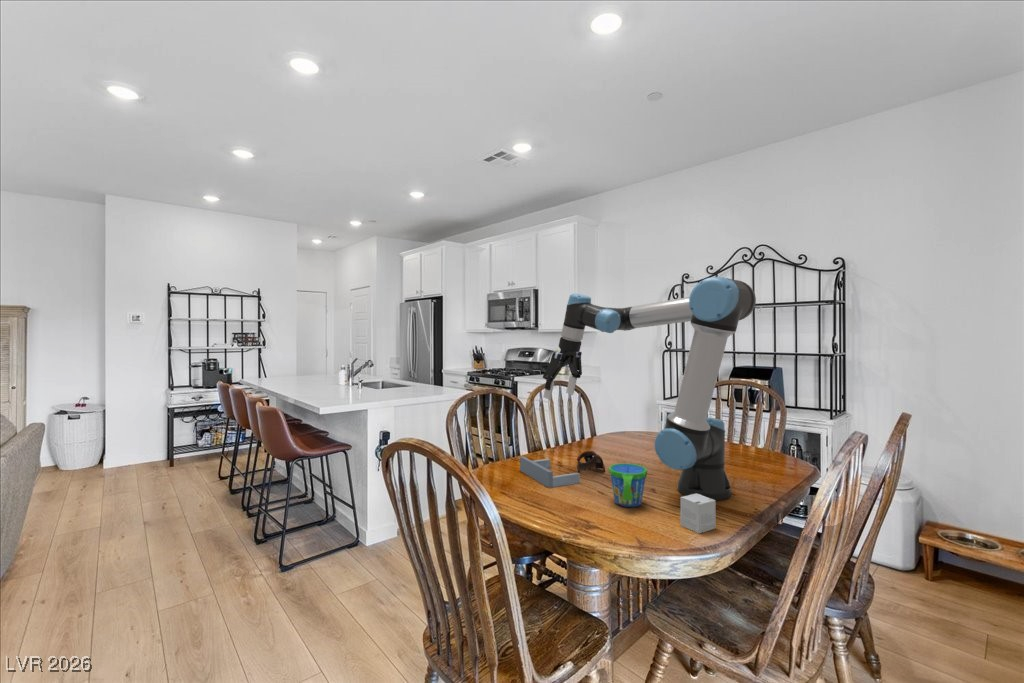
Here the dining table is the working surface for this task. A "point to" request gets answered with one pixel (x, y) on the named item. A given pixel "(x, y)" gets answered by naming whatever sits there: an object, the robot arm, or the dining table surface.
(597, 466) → the pottery mug
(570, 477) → the seat channel
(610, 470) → the snack cup
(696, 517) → the skincare box
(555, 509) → the dining table surface
